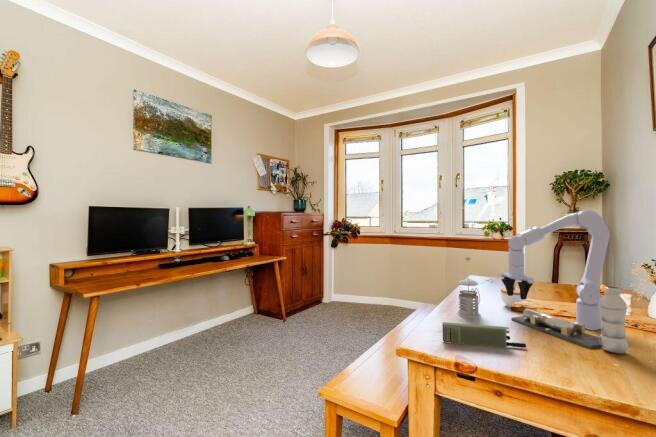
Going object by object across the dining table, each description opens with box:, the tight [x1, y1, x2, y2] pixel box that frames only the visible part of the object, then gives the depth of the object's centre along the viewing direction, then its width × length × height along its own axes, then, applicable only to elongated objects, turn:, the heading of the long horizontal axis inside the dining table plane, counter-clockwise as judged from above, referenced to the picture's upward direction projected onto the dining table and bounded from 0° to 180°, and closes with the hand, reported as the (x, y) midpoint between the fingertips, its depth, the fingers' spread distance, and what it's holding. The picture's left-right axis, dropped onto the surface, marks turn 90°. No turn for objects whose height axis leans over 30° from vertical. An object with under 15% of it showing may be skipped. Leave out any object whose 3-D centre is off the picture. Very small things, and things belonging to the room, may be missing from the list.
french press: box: [456, 256, 482, 319], centre depth 137 cm, size 10×12×25 cm
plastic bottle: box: [599, 285, 629, 354], centre depth 99 cm, size 6×7×20 cm
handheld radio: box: [442, 321, 527, 349], centre depth 106 cm, size 7×3×25 cm
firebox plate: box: [511, 313, 602, 350], centre depth 117 cm, size 10×30×4 cm, turn 16°
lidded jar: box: [500, 285, 528, 309], centre depth 149 cm, size 11×11×9 cm
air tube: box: [522, 308, 577, 334], centre depth 120 cm, size 18×4×4 cm, turn 16°
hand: (516, 297), depth 133 cm, fingers open, 6 cm apart
